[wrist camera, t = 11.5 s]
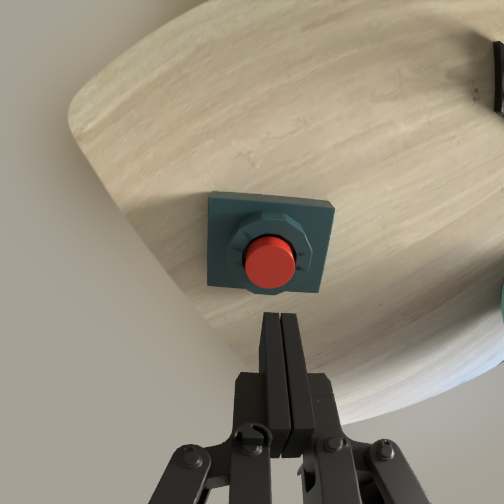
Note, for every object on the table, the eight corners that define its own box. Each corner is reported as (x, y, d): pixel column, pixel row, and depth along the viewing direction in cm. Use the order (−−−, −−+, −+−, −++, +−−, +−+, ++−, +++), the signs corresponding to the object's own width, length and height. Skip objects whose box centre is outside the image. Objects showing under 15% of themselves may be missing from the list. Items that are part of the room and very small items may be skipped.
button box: (210, 273, 27) (204, 297, 24) (212, 190, 24) (204, 204, 20) (314, 280, 28) (322, 304, 24) (328, 200, 24) (341, 215, 20)
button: (244, 275, 23) (243, 287, 22) (247, 233, 22) (246, 243, 20) (288, 278, 23) (291, 290, 22) (295, 237, 22) (298, 247, 20)
